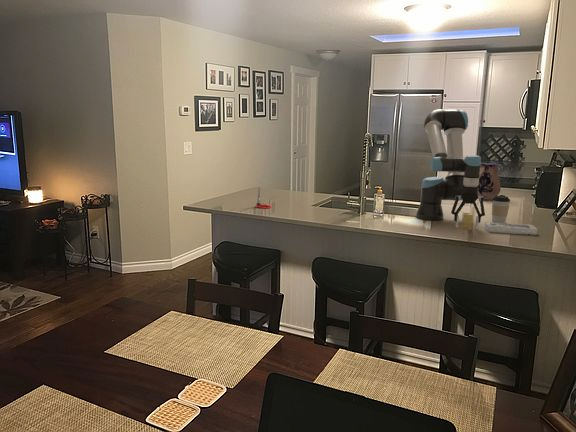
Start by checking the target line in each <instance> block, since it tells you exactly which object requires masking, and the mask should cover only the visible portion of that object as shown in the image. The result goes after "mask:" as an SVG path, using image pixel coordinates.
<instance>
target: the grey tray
mask: <svg viewBox="0 0 576 432" xmlns="http://www.w3.org/2000/svg"><path fill="white" fill-rule="evenodd" d="M484 228H485V230H486V231H487V233H499V234H500V233H501V234H512V235H513V234H515V235H528V234H530V236H537V235H538V228H536V227H535V226H534V225H533V224H528V223H527V224H525V223H524V224H523V223H509V222H508V223H507V222H506V223H493V222H492V221H491V222H489V221H485V222H484Z"/></svg>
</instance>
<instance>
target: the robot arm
mask: <svg viewBox="0 0 576 432" xmlns="http://www.w3.org/2000/svg"><path fill="white" fill-rule="evenodd" d="M426 116H427V117H425V119H424V123H423V128H424V132H425V133H427V139H428V142H429V146H430V150H431V155H432V157H431V158H430V163H429V167H430V170H431V171H432V172H439V173H440V172H447V175H446V176H445V179H444V177H443V176H430V177H428V176H427V177H425V178H423V179H422V181H421V186H420V188H421V189H420V202H419V206H418V208H417V210H416V213H415V217H416V218H418V219H420V220H424V221H425V220H426V221H441V220H443V219H444V212H443V207H442V201H454V203H453V206H452V208H451V211H450V213H451V215H454V217H453V220H454V222H455V228H456V229H458V228H459V220H460V219H459V218H460V217H459V213H460V212H461V210H462V209H463V207H464V206H465V205H466V204H467V205H468V204H470V205H473V207H474V210H475V212H476V214H477V215H476V216H475V224H474V226H475V227H474V229H475V230H478V229H479V224H481V219H482V217H485V216H486V213H485V205H484V200H485V199H484V198H483V197H478V185H479V175H480V168H481V163H482V157H481V156H479V155H473V154H472V155H466V156H464V150H463V148H464V147H463V134H464V133H466V130H467V129H468V127H469V118H468V114H467V112H466V111H465V110H463V109H441V108H439V109H434V110H433V111H431V112H430V113H429V114H428V115H426ZM442 131H443V133H442ZM443 134H444V135H445V136H446V145H445V141H444V137H443ZM459 201H461V203H460V204H459ZM476 201H479V205H480V210H479V208H478V205H477V202H476ZM458 204H459V206H458ZM457 206H458V207H457ZM480 211H481V212H480Z"/></svg>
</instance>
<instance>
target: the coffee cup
mask: <svg viewBox="0 0 576 432" xmlns="http://www.w3.org/2000/svg"><path fill="white" fill-rule="evenodd" d="M510 202H511V199H510V198H509V196H506V195H505V194H504V195H503V194H498V196H495V197H494V198H493V199H492V205H491V211H492V212H491V222H493V223H507V222H506V221H507V217H508V213H509V209H510Z"/></svg>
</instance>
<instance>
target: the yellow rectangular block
mask: <svg viewBox="0 0 576 432" xmlns="http://www.w3.org/2000/svg"><path fill="white" fill-rule="evenodd" d="M473 219H474V214H473V213H472V212H462V216H461V225H460V227H461V229H462V230H468V231H472V229H473V228H472V227H473Z"/></svg>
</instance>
